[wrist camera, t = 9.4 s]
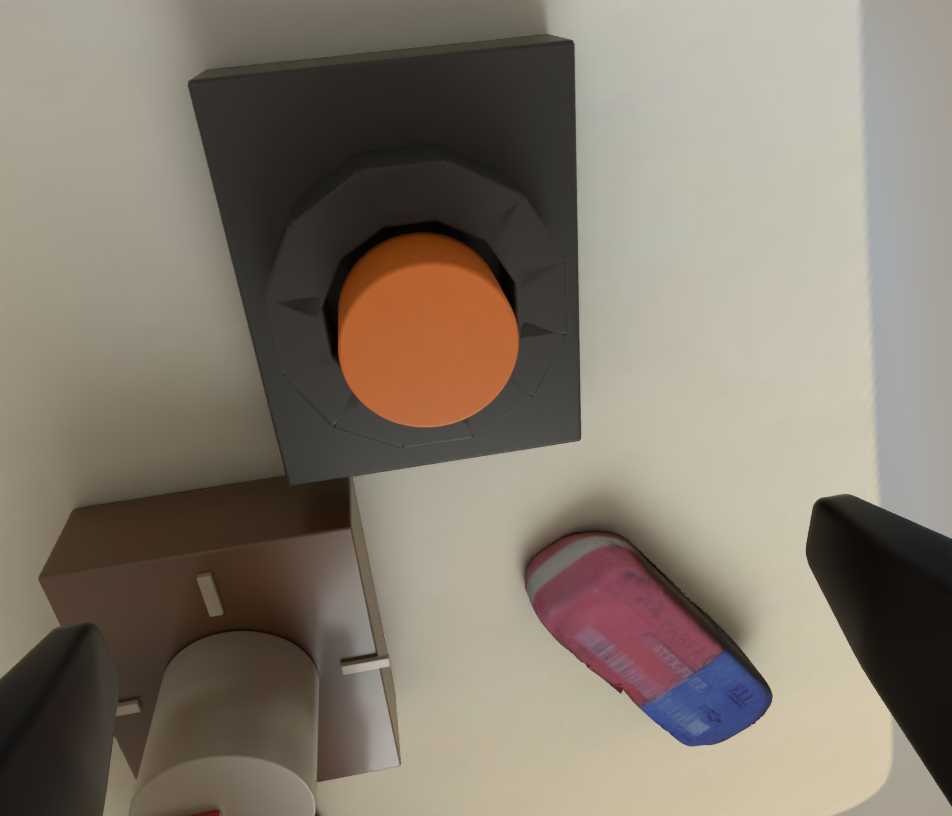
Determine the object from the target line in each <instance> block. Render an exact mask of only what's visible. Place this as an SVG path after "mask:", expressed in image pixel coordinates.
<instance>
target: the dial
mask: <svg viewBox="0 0 952 816" xmlns="http://www.w3.org/2000/svg"><path fill="white" fill-rule="evenodd" d="M318 714H319V676H318V672H317V669H316V667H315V665H314V663H313V662H312V660H311V659H310V658H309V656H308V655H307V654H306V653H305V652H304V651H303V650H302V649H300V648H299V647H298V646H296V645H295V644H293V643H291V642H289V641H287V640H285V639H283V638H280V637H278V636H275V635H271V634H267V633H261V632H255V631H232V632H224V633H219V634H215V635H211V636H208V637H205V638H203V639H200V640H198V641H196V642H194V643H192V644H191V645H189V646H187V647H186V648H184V649H183V650H182V651H181V652H179V653H178V654H177V655H176V656H175V657H174V658H173V659H172V661H171V662H170V663H169V665H168V666H167V668H166V670H165V672H164V675H163V679H162V682H161V686H160V690H159V694H158V698H157V702H156V706H155V710H154V714H153V718H152V722H151V726H150V730H149V734H148V738H147V741H146V745H145V749H144V753H143V757H142V761H141V765H140V769H139V773H138V777H137V781H136V785H135V789H134V793H133V797H132V801H131V805H130V809H129V816H315V812H316V787H317V750H318Z"/></svg>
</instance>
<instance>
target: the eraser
mask: <svg viewBox="0 0 952 816" xmlns="http://www.w3.org/2000/svg"><path fill="white" fill-rule="evenodd" d="M525 589H526V592H527V594H528V597H529V600H530V602H531V604H532V607H533V609H534V611H535V612H536V614H537V616H538V618H539V619H540V621H541V622H542V624H543V625H544V626H545V628H546V629H547V630H548V631H549V632H550V633H551V635H552V636H553V637H554V638H555V639H556V640H557V641H558V642H559V643H560V644H561V645H562V646H564V647H565V648H566V649H568V650H569V651H570V652H571V653H573V654H574V655H575V656H576V657H577V658H578V659H579V660H580V661H581V662H583V663H585V664H586V666H587V667H588V668H589V669H590V670H592V671H593V672H594V673H596V674H597V675H599V676H600V677H602V678H603V679H604V680H605V681H606V682H608V683H609V684H610V685H611V686H612V687H614V688H615V689H616V690H617V691H618V692H619V693H622V690H624V691H625V692H626V694H627V695H628V696H629V697H630V698H631V699H632V701H633V702H634V703H635V704H636V705H637V706H638V707H639V708H640V709H641V710H642V711H644V712H645V713H646V714H647V715H648V716H649V717H650V718H651V719H652V720H653V721H655V722H656V723H657V724H658V725H660V726H661V727H662V728H663V729H664V730H666V731H668V732H669V733H670V734H671V735H672V736H673V737H674V738H676V739H677V740H678V741H679V742H681V743H683V744H685V745H687V746H700V745H713V744H717V743H720V742H723V741H725V740H727V739H729V738H731V737H732V736H734V735H736V734H738V733H739V732H741V731H743V730H744V729H746V728H748V727H749V726H751V724H754V723H755V722H756V721H757V720H759V719H760V718H761V717H762V716H763V715H764V714H765V712H766V711H767V709H768V708H769V706H770V705H771V702H772V692H771V689H770V687H769V685H768V684H767V682H766V681H765V679H764V678H763V677H762V675H761V674H760V673H759V672H758V670H757V669H756V668H755V666H754V665H753V664H752V663H751V661H750V660H749V659H748V658H747V656H746V655H745V654H744V652H743V651H742V650H741V649H740V648H739V647H738V645H737V644H736V643H735V642H734V641H733V640H732V639H731V638H730V637H729V636H728V635H727V634H726V633H725V631H724V630H722V629H721V628H720V627H719V626H718V625H717V624H716V623H715V622H714V621H713V620H712V619H711V618H710V617H709V616H708V615H707V614H706V613H704V612H703V611H702V610H701V609H700V608H699V607H697V606H696V605H695V604H694V603H693V602H692V601H690V600H689V599H688V598H687V597H686V596H685V595H684V594H683V593H682V592H681V591H680V590H679V589H678V588H677V587H676V586H675V585H674V584H673V583H672V582H671V581H670V580H669V579H668V578H667V577H666V576H665V575H664V574H663V573H662V572H661V571H660V570H659V569H658V568H657V567H656V566H655V565H654V564H653V563H652V562H651V561H650V560H649V559H648V558H647V557H645V556H644V555H643V554H642V553H641V552H640V551H639V550H638V549H637V548H636V547H635V546H634V545H633V544H632V543H631V542H630V541H629V540H627V539H626V538H624V537H622V536H620V535H617V534H614V533H611V532H603V531H590V532H577V533H573V534H569V535H566V536H564V537H562V538H561V539H559V540H557V541H556V542H554V543H553V544H551V545H550V546H548V547H547V548H546V549H544V550H543V551H542V552H540V553H539V554H538V555H537V556H536V557H534V558H533V559H532V560H531V562H530V563H529V565H528V567H527V569H526V574H525Z"/></svg>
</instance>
